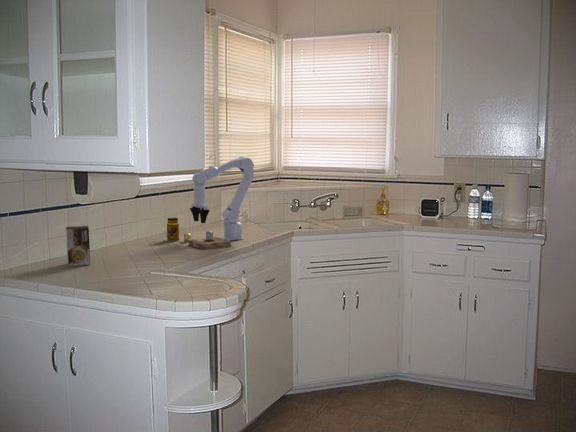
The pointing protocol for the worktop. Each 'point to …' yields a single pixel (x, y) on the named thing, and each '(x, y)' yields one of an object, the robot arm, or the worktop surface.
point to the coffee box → (78, 245)
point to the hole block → (209, 243)
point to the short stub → (187, 237)
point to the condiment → (172, 230)
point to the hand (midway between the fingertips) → (199, 222)
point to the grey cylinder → (209, 236)
